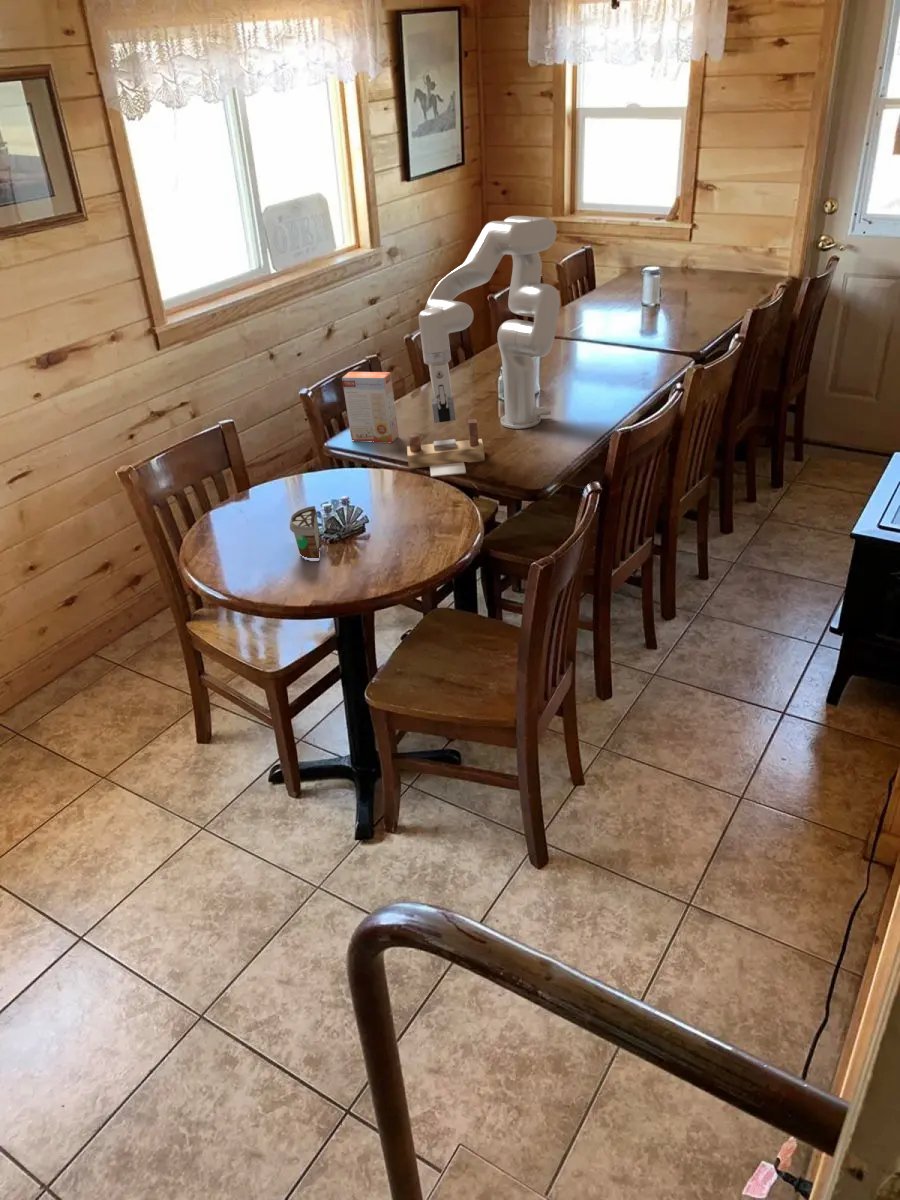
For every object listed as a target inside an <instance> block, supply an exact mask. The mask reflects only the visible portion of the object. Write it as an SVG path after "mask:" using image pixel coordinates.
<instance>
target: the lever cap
mask: <svg viewBox="0 0 900 1200" xmlns="http://www.w3.org/2000/svg"><path fill="white" fill-rule="evenodd" d="M444 397H445V395H444ZM439 398H440V396H439ZM453 398H454V397H453V396H452V397H451V398H450V397H447V401H448V407H449V411H450V419H451V420H450V421H449V422H453V421H456V413H455V412H456V411H455V404H454V403H455V402H454V399H453ZM430 400H431V406H432V414H433V422H434V424H436V423H440V422H439V415H438V408H439V407H438V400H437V399H435V397H434V398H431V399H430ZM439 401H440V402H441V400H439ZM445 401H446V400H445Z"/></svg>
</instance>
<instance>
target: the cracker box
mask: <svg viewBox="0 0 900 1200" xmlns="http://www.w3.org/2000/svg"><path fill="white" fill-rule="evenodd" d="M341 381H342V385H343V386H342V387H343V393H344V398H345V399H344V400H345V405H346V413H347V419H348V426H349V432H350V439H351V441H352V440H354V441H372V442H371V443H377V442H391V443H390V444H393V443H394V442H393V441H394V440H395V439H396V438H397V437H398V436H399V429H398V428H399V427H398V420H397V419H398V418H397V413H396V404H395V398H394V397H395V396H394V395H395V394H394V389H393V388H394V387H393V380H392V372H389V371H387V372H386V371H384V372H383V371H373V372H372V371H349V372H347V373H346V374H344V375H343V376H342V377H341ZM398 438H399V437H398ZM398 438H397V439H398ZM397 439H396V440H397ZM396 440H395V441H396ZM373 441H374V442H373ZM392 442H393V443H392Z"/></svg>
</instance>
